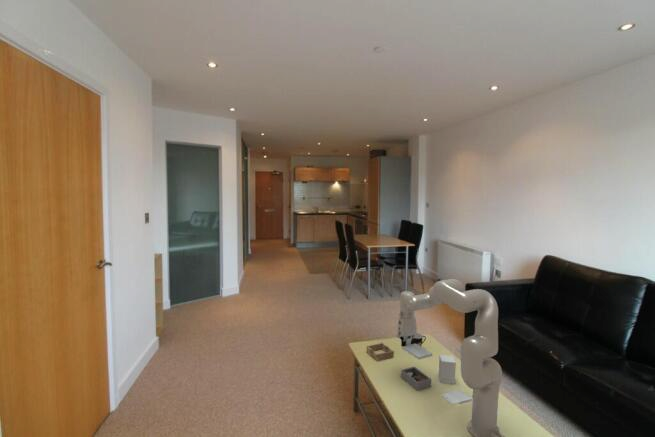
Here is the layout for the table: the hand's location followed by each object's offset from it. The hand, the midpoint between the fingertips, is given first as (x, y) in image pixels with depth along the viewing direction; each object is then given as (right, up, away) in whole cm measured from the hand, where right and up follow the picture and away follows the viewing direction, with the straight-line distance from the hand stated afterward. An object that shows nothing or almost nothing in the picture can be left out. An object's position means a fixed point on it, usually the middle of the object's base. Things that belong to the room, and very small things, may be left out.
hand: (406, 346), depth 172 cm
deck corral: (-11, -15, +23) cm, 30 cm away
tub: (+3, -17, -7) cm, 18 cm away
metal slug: (+1, -16, -4) cm, 16 cm away
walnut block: (+5, -16, -9) cm, 19 cm away
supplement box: (+21, -17, -4) cm, 27 cm away
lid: (+3, 0, -6) cm, 7 cm away
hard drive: (+20, -19, -18) cm, 33 cm away
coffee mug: (+15, -15, +30) cm, 37 cm away
